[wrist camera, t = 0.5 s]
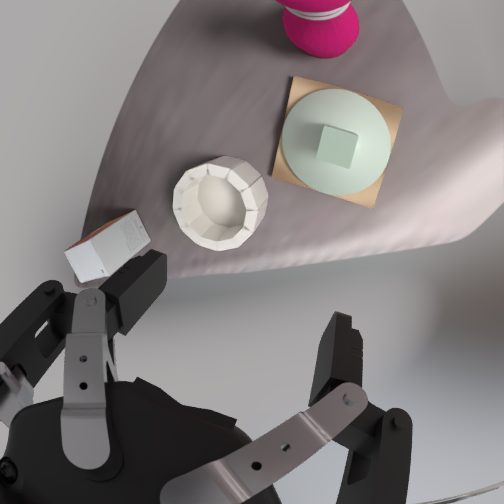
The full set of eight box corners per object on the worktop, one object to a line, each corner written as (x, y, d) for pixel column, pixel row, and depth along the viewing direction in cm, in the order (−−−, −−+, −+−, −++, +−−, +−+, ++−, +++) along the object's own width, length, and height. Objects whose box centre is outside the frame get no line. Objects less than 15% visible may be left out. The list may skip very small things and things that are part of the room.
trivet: (295, 76, 26) (293, 75, 26) (401, 108, 25) (403, 108, 24) (273, 175, 33) (271, 177, 32) (371, 205, 31) (372, 208, 30)
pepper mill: (293, 63, 26) (229, 1, 9) (287, 8, 22) (221, -89, 6) (359, 63, 24) (393, -5, 7) (352, 7, 20) (361, -99, 4)
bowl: (197, 150, 34) (177, 157, 29) (275, 167, 32) (265, 177, 28) (189, 220, 39) (171, 236, 35) (258, 241, 37) (247, 260, 33)
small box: (136, 208, 40) (89, 238, 32) (152, 241, 42) (110, 276, 34) (106, 222, 44) (62, 251, 35) (120, 251, 46) (80, 283, 37)
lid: (295, 77, 26) (287, 71, 21) (400, 109, 24) (413, 109, 20) (273, 176, 32) (262, 188, 27) (371, 206, 30) (377, 224, 26)
